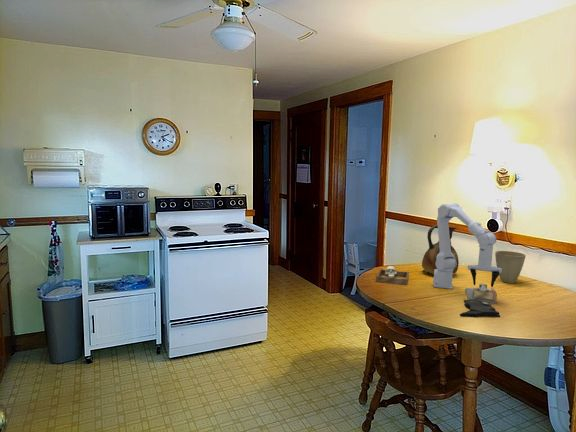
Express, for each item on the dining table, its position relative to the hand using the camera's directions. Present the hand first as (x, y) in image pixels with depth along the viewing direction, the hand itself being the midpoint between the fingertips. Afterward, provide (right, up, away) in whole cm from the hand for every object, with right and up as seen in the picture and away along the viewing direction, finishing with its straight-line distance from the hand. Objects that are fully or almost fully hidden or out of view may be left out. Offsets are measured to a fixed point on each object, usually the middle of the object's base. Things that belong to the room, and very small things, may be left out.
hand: (483, 285), depth 192 cm
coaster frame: (-35, -2, +32) cm, 47 cm away
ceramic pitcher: (-4, -1, +45) cm, 45 cm away
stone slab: (-10, -9, -14) cm, 19 cm away
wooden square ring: (0, -5, +1) cm, 5 cm away
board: (+1, -6, +5) cm, 8 cm away
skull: (-37, -3, +31) cm, 48 cm away
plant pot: (+29, -3, +32) cm, 43 cm away
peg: (0, -6, +1) cm, 6 cm away
